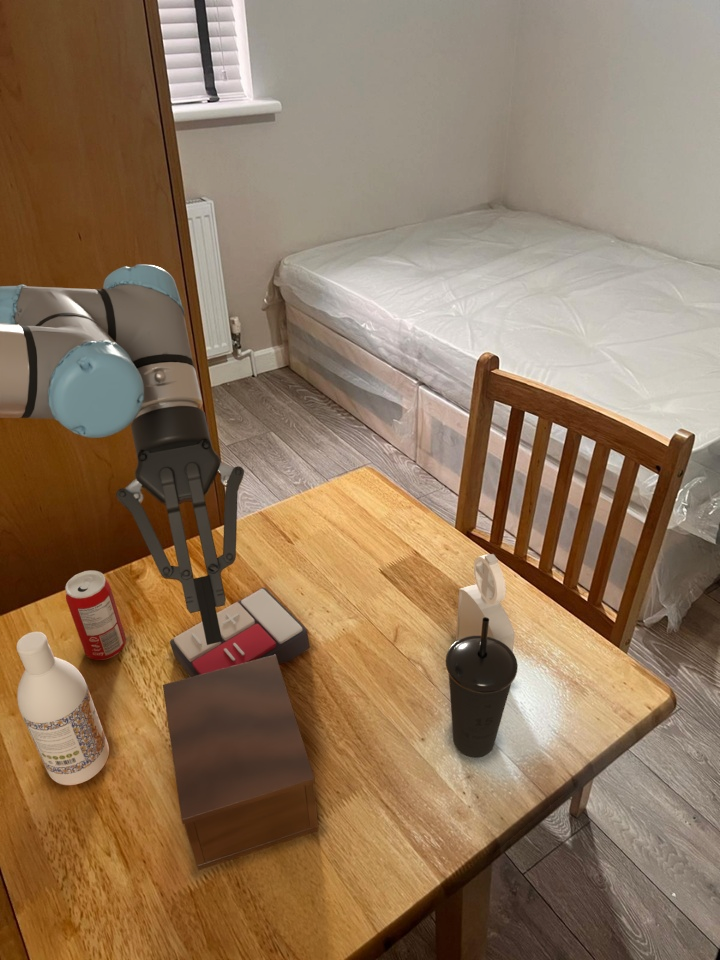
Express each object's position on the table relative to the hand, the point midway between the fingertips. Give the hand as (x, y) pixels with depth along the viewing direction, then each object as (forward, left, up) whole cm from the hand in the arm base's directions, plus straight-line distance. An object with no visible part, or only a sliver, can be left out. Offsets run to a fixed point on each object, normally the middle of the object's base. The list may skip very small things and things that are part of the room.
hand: (214, 642), depth 71 cm
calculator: (-12, +13, -21) cm, 28 cm away
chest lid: (+2, -1, -11) cm, 12 cm away
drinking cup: (+20, +19, -21) cm, 35 cm away
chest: (+2, -1, -21) cm, 21 cm away
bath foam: (-16, -10, -21) cm, 29 cm away
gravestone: (+15, +30, -21) cm, 40 cm away
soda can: (-28, +3, -21) cm, 36 cm away
